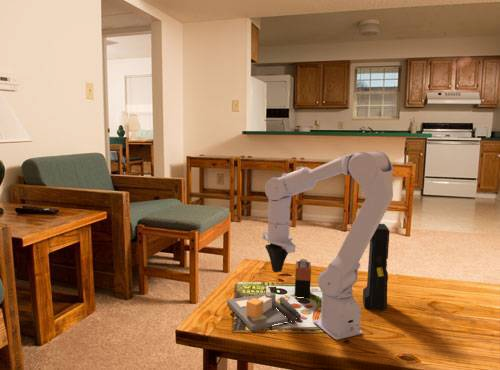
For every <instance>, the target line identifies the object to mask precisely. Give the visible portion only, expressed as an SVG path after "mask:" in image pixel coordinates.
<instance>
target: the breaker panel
mask: <svg viewBox="0 0 500 370" xmlns="http://www.w3.org/2000/svg"><path fill="white" fill-rule="evenodd" d="M262 296H263V295H261V294H255V295H250V296H249V295H248V296H243V297H236V298H232V299H227V300H226V304H227V306H228V307H229V308H230V309H231V310H232V311H233V312H234V314H235V315H236V316H237V317H238V318H239V319H240V320H241V321H242V322H243V323H244V324H245V325H246V326H247V328H248V329H249V330H250V331H251V332H253V331H258V330H263V329H267V328H272V327H271V326H272V325H274V324H278V323H284V322H288V323H289V320H288V318H287V317H285V316H284V315H283V314H282V313H281V312H280V311H278V310H277V309H276V308H277V304H275V307H273V308H271V309H269V310H267V311H266V312H264V313H263V315H261V316H260V317H258V318H257V319H255V318H253V317H250V316H247V315H246V308H247V301H249V300H250V299H252V298H256V299H259V298H261V297H262Z"/></svg>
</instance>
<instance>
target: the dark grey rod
mask: <svg viewBox="0 0 500 370" xmlns="http://www.w3.org/2000/svg"><path fill="white" fill-rule="evenodd" d="M275 304H277V309H278V310H279V311H280V312H281V313H282V314H283V315H284V316H286V317H287V318H288V319H289V320H288V321H289V322H291V321H292V322H294V323H296V322H297V319H296V317H295V316H294V315H292V314H291V313H290V312H289V311H288V310H287V309H286V308H285V307H284V306H283V305H282V304H281V303H280V302H278V301H277V300H276V301H275ZM295 321H296V322H295ZM292 322H291V323H292Z"/></svg>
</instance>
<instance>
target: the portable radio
mask: <svg viewBox="0 0 500 370" xmlns="http://www.w3.org/2000/svg"><path fill="white" fill-rule="evenodd" d="M389 245H390V229H389V227H387V225H386V224H385V223H379V225H378V227H377V229H376V231H375V233H374V234H373V236H372V238H371V240H370V242H369V250H368V266H367V280H366V287H365V288H363V290H362V303H363V307H364V308H365V309H371V310H378V311H379V310H380V311H385V310H386V309H387V308H388V281H389V275H388V274H389V273H388V270H387V269H388V268H387V267H388V261H387V260H388V258H389V248H390V247H389Z"/></svg>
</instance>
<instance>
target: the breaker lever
mask: <svg viewBox="0 0 500 370" xmlns="http://www.w3.org/2000/svg"><path fill="white" fill-rule="evenodd" d="M261 296H262V297H261V298H259V299H256V298H252V299H250V300H249V301H247V308H246V315H247V316H250V317H253V318H255V319H257V318H258V317H260V316H261V315H263V313H264V312H266V311H267V310H269V309H271V308H273V307H275V301H277V300H276V299H277V298H276V296H277V295H276V293H274V292H271V291H268V292H265V293H264V294H263V295H261Z"/></svg>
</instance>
